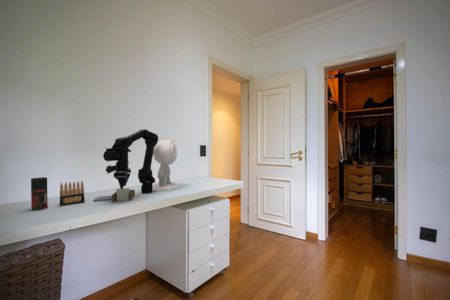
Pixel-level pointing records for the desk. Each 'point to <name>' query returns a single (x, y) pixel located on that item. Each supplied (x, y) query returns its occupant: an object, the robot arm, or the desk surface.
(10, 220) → the desk surface
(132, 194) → the frame
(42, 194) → the black red box
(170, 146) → the big headed doll
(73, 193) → the ammunition clip
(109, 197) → the mat
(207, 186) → the desk surface
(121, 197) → the block
